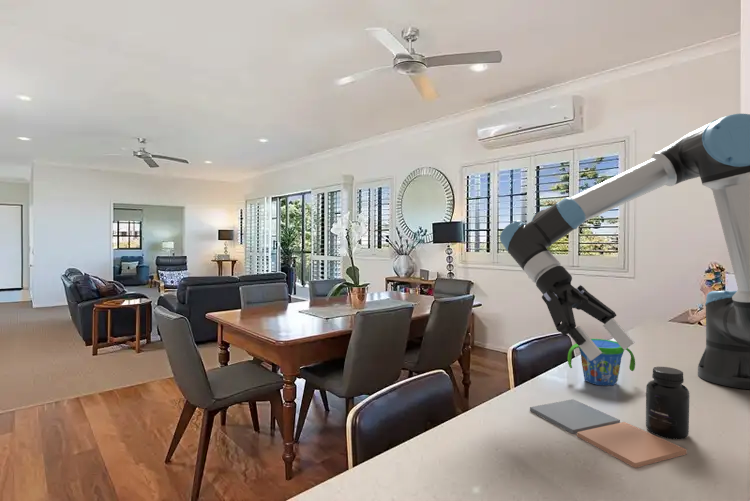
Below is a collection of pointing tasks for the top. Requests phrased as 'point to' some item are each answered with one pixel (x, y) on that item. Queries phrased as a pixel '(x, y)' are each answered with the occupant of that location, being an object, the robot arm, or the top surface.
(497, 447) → the top surface
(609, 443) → the terracotta pad
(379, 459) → the top surface
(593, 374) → the snack cup
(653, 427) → the supplement bottle
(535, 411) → the slate pad
